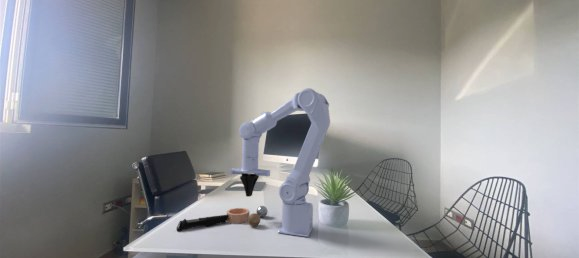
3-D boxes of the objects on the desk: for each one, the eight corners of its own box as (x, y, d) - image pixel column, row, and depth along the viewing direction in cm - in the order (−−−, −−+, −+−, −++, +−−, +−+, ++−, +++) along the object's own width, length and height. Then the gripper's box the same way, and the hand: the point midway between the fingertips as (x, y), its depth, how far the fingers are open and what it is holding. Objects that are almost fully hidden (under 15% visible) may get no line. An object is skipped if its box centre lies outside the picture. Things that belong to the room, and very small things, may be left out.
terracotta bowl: (252, 216, 84) (252, 209, 84) (242, 224, 76) (242, 215, 76) (233, 214, 86) (234, 207, 86) (222, 221, 78) (222, 213, 78)
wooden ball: (262, 224, 76) (262, 212, 77) (257, 229, 73) (257, 216, 73) (251, 223, 77) (251, 211, 78) (245, 227, 74) (246, 214, 74)
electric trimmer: (229, 225, 76) (229, 215, 76) (177, 232, 69) (177, 222, 69) (226, 222, 80) (226, 212, 80) (176, 228, 72) (177, 218, 72)
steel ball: (269, 216, 85) (269, 205, 85) (264, 219, 81) (265, 208, 82) (258, 214, 86) (259, 204, 87) (254, 218, 83) (254, 206, 83)
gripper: (225, 156, 80) (224, 196, 79) (265, 158, 76) (264, 200, 75) (235, 155, 86) (234, 192, 86) (272, 157, 83) (271, 195, 82)
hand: (249, 195), depth 81 cm, fingers closed
